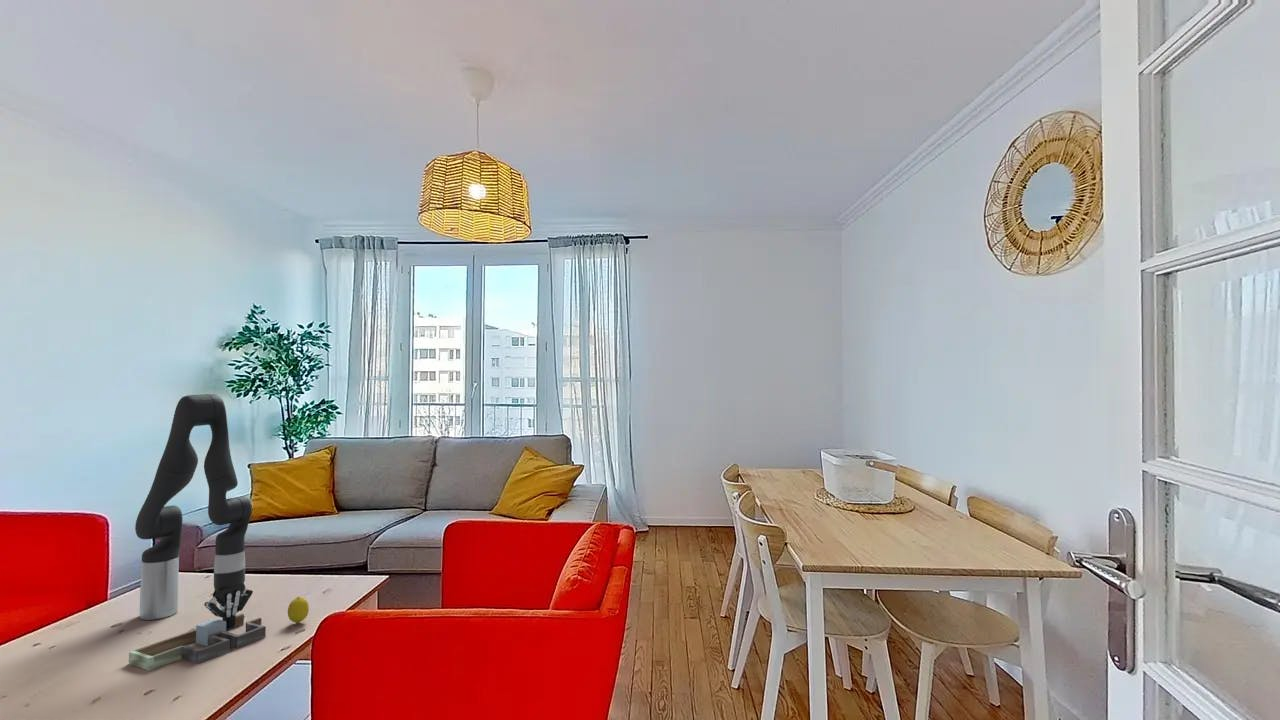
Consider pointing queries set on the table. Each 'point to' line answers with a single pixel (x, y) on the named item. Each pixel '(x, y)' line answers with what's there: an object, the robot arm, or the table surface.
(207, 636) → the block
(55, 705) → the table surface
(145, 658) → the trap box
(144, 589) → the robot arm
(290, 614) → the lemon
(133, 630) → the table surface
